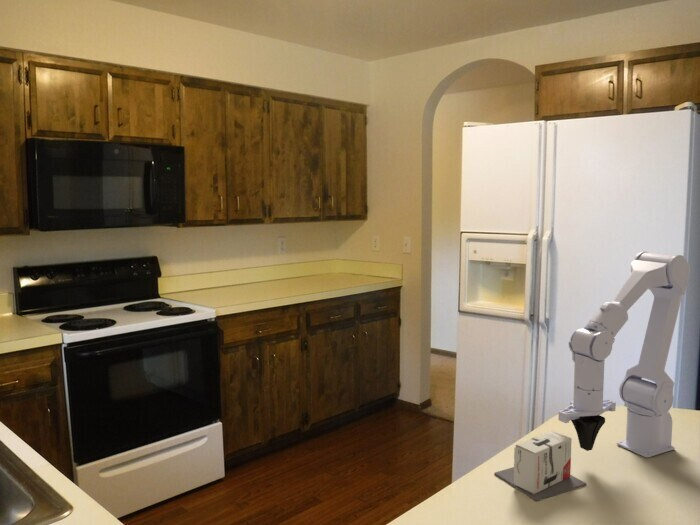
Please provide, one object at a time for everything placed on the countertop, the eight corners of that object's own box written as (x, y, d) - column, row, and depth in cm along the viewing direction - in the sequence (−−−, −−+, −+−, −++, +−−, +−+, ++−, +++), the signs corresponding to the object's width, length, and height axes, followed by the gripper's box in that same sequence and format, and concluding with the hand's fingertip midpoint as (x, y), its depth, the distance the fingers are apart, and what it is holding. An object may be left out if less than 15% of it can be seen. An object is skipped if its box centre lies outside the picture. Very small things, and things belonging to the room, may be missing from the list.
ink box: (571, 477, 119) (533, 495, 112) (550, 468, 123) (512, 485, 116) (572, 437, 118) (534, 453, 111) (551, 429, 122) (513, 444, 115)
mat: (541, 460, 127) (541, 459, 127) (586, 485, 117) (586, 483, 117) (494, 474, 122) (494, 472, 122) (536, 501, 111) (536, 499, 111)
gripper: (597, 375, 129) (595, 434, 131) (548, 386, 123) (546, 448, 125) (625, 385, 123) (622, 447, 125) (574, 396, 117) (572, 461, 119)
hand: (586, 448), depth 124 cm, fingers closed
